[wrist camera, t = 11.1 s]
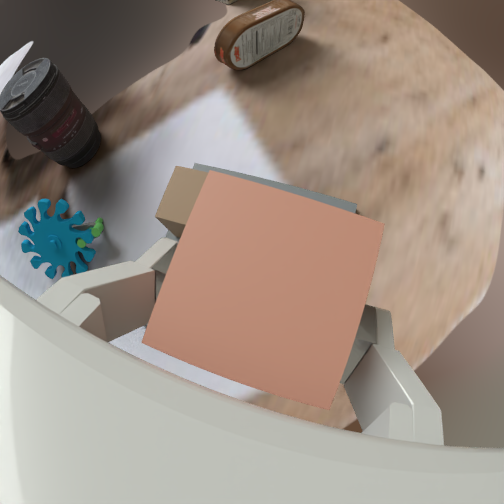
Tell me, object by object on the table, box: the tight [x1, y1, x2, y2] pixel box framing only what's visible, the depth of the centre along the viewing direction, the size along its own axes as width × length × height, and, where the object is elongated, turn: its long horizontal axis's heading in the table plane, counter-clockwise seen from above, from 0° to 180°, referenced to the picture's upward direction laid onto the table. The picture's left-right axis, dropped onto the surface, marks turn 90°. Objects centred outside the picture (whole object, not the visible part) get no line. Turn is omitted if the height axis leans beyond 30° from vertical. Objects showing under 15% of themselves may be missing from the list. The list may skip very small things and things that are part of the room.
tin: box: [214, 0, 304, 70], centre depth 35 cm, size 15×3×8 cm, turn 133°
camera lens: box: [0, 58, 101, 168], centre depth 29 cm, size 8×8×15 cm
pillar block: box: [142, 170, 385, 410], centre depth 10 cm, size 4×4×8 cm
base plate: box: [146, 163, 357, 325], centre depth 28 cm, size 18×18×7 cm
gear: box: [18, 199, 104, 279], centre depth 31 cm, size 11×6×10 cm
